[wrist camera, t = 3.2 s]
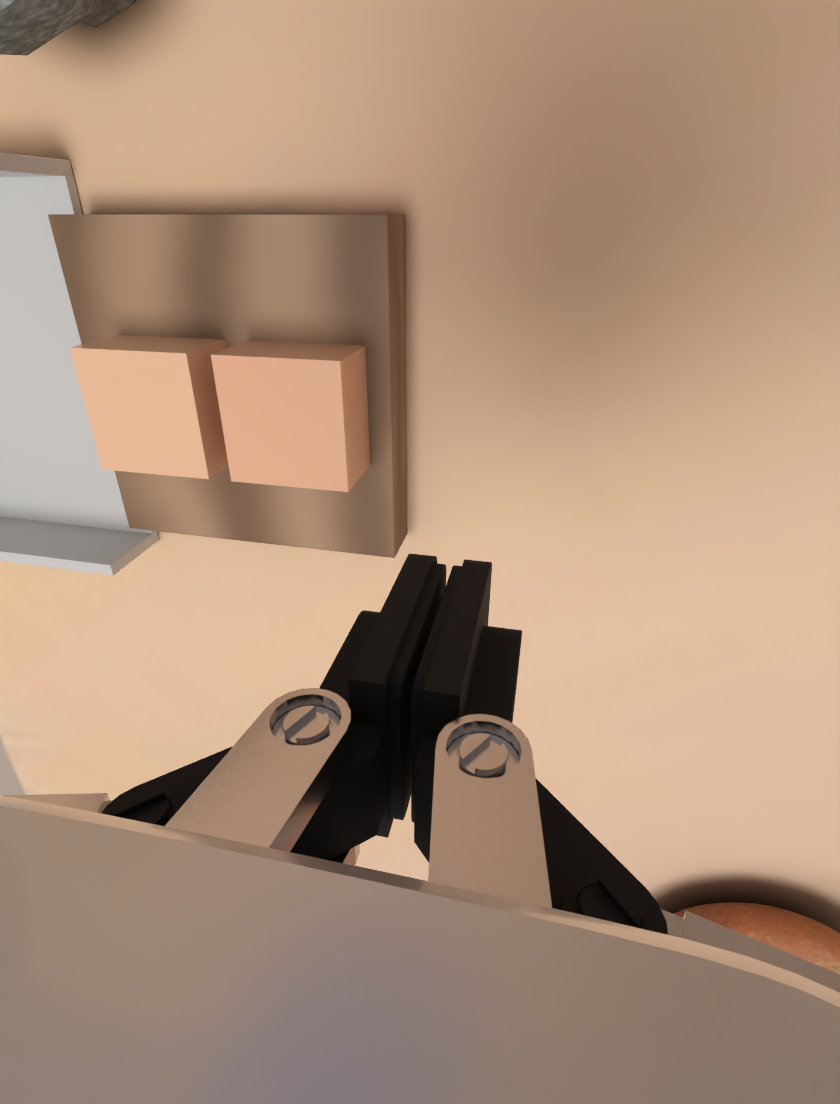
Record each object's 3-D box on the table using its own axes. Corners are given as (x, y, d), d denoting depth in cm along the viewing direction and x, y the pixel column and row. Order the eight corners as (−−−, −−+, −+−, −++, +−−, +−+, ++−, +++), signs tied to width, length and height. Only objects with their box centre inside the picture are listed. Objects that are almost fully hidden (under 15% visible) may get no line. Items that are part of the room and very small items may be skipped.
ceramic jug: (590, 971, 45) (602, 1254, 33) (625, 851, 38) (656, 1156, 26) (857, 1028, 42) (978, 1363, 30) (950, 909, 35) (1160, 1287, 22)
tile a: (365, 345, 24) (340, 361, 21) (370, 465, 26) (348, 492, 24) (248, 340, 25) (210, 354, 22) (263, 456, 27) (231, 481, 25)
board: (403, 214, 23) (387, 214, 21) (407, 533, 30) (394, 557, 28) (90, 214, 26) (47, 214, 24) (158, 507, 33) (129, 527, 31)
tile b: (226, 339, 25) (186, 353, 22) (242, 454, 27) (208, 479, 25) (119, 334, 26) (69, 347, 23) (144, 446, 28) (102, 469, 26)
